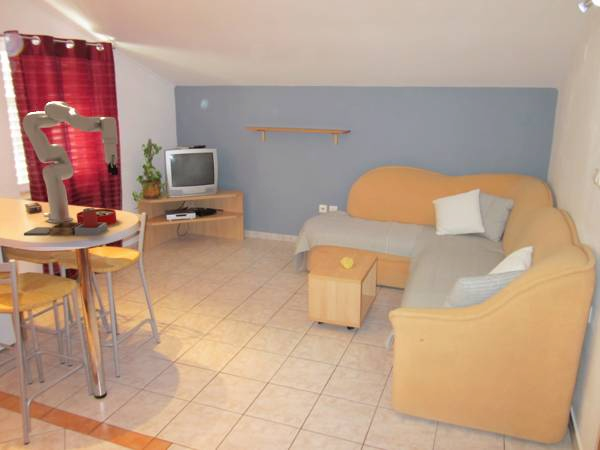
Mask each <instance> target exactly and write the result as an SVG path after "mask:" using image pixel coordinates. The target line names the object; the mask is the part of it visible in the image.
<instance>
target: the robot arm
mask: <svg viewBox="0 0 600 450" xmlns="http://www.w3.org/2000/svg"><path fill="white" fill-rule="evenodd" d="M43 110H44V111H36V112H35V111H34V112H29V113H27V114H26V115H25V116H24V118H23V120H22V128H23V130H24V132H25V134H26V136H27V138H28V139H29V141H30V143H31V145H32V147H33V149H34V152H35V154H36V156H37V158H38V160H39V161H40V162H41V163H43V164H47V163H52V164H48V165H46V166H44V168H43V170H42V177H43V180H44V182H45V187H46V194H47V200H48V207H49V212H46V213H44V214H43V217H44V218H47V222H48V223H51V224H52V223H56V224H59V223H68V222H70V221H72V220H74V219H73V216H71V215H70V213H69V202H68V196H67V189H66V185H65V184H64V182H63V181H64V180H67V179H71V178H72V177H73V176H74V167H73V165H72V162H71V160H70V158H69V156H68V154H67V151H66V149H65V148H64V147H63V146H62V145H60V144H58V143H57V144H56V143H53V144H52V143H50V140H49V139H48V136H47V135H46V134H45V132H43V131H42V130H41V129H42V128H43V129H44V128H45V129H46V128H53V127H56V126H57V125H59V124H60V123H62V122H64V123H65V124H69V125H70V126H71V127H72V128H74V129H76V130H80V131H82V132H86V133H93V132H101V138H102V139H101V140H102V145H103V146H104V161H105V163H106V164H107V172H108V173H109V174H110V173H111V176H119V169H118V168H119V167H118V151H117V150H118V149H117V145H118V144H119V142H118V129H117V120H116V118H115V117H113V116H110V117H109V116H106V117H105V116H104V117H103V116H85V115H81V114H79V112H78V110H77V109H76V108H74V107H71V106H70V104H68V102H64V101H51V102H48V103H46V104H45V105H44V109H43Z"/></svg>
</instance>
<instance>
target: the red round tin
mask: <svg viewBox="0 0 600 450" xmlns="http://www.w3.org/2000/svg"><path fill="white" fill-rule="evenodd" d="M94 209H95V211H96V214H97V222H98V223H107V226H110V225H113V224H115V223H117V213H116V210H115V209H111V208H94ZM76 221H77V222H76V223H82V224H83V210H82V211H80V212H77V213H76Z"/></svg>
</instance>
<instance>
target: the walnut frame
mask: <svg viewBox="0 0 600 450" xmlns="http://www.w3.org/2000/svg"><path fill="white" fill-rule="evenodd" d="M81 224H82V223H77V222H60V223H56V224H54V225H52V226H50V227H51V228H49V232H50V234H49V236H74V235H75V229H74V228H76V227H78V226H80V225H81Z"/></svg>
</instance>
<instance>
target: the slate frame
mask: <svg viewBox="0 0 600 450" xmlns="http://www.w3.org/2000/svg"><path fill="white" fill-rule="evenodd" d="M74 229H75V234H74V235H75V236H99V235H101V234H102V233H103V232H105V231H107V230H108V225H107V223H98V227H97V228H84V223H83V224H81V225H80V226H78V227H76V228H74Z"/></svg>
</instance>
